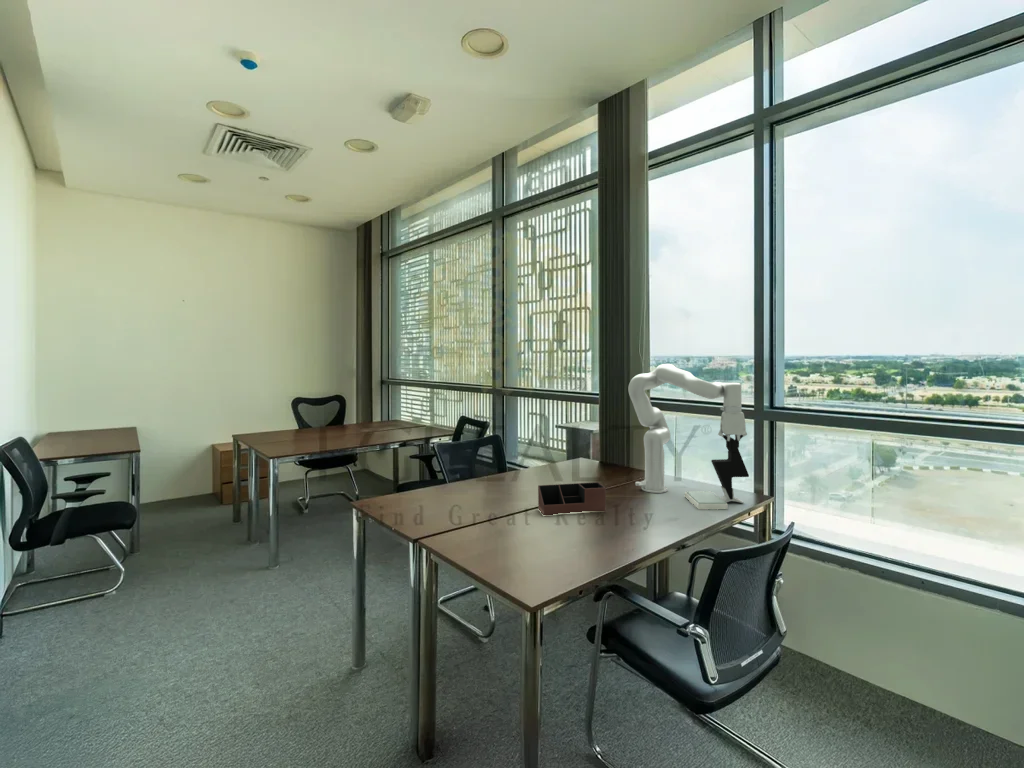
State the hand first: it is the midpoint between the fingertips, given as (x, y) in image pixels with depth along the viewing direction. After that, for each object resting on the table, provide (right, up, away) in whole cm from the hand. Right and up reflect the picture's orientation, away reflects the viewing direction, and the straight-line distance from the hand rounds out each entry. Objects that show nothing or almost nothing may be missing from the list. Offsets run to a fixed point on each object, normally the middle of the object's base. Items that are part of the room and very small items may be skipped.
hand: (732, 448), depth 225 cm
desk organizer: (-75, -27, -7) cm, 80 cm away
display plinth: (-12, -25, +1) cm, 28 cm away
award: (0, -25, +2) cm, 25 cm away
